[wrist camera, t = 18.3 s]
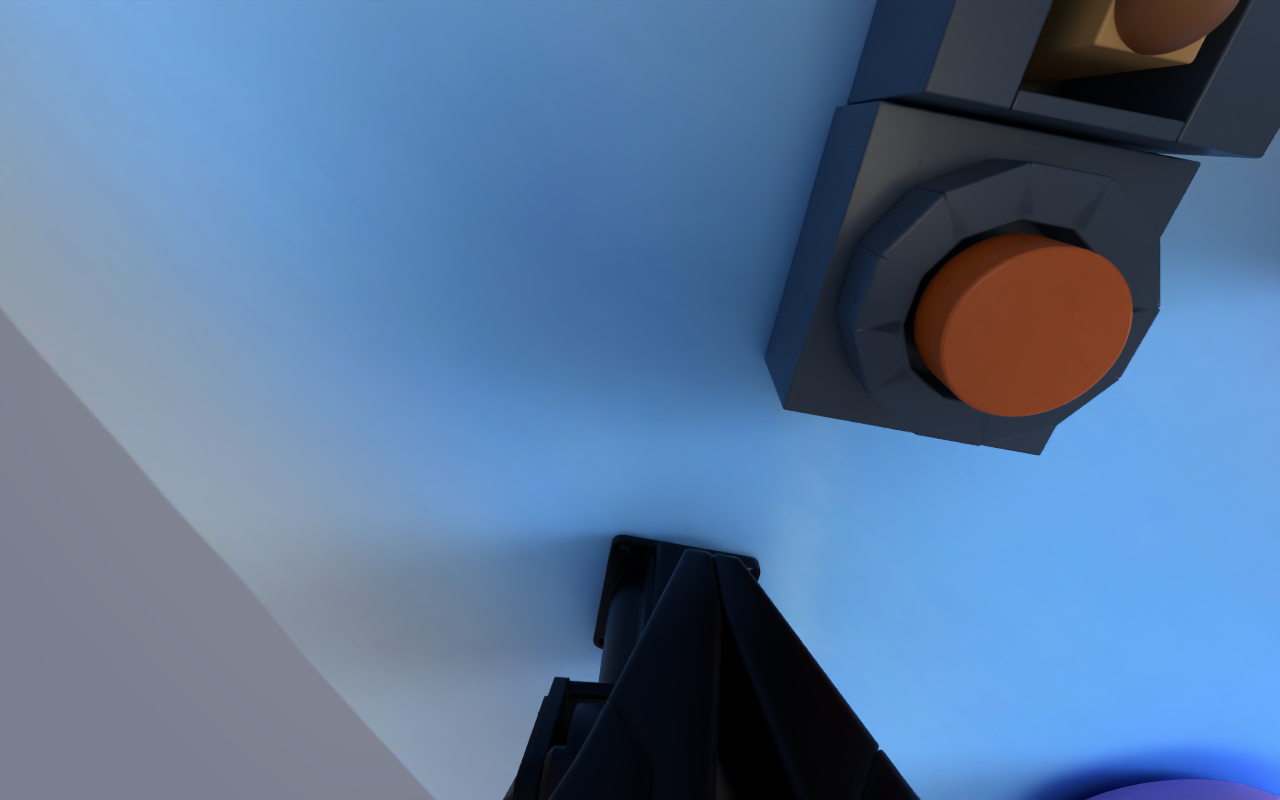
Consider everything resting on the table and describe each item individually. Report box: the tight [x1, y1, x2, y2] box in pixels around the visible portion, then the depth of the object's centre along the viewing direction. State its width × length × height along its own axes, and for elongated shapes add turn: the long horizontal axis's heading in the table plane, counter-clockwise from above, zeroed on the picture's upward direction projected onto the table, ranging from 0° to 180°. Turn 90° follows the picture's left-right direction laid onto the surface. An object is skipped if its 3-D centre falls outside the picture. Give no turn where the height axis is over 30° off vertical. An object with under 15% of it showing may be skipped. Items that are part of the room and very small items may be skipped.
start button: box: [914, 233, 1133, 417], centre depth 14 cm, size 4×4×2 cm
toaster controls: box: [765, 101, 1201, 455], centre depth 17 cm, size 8×8×6 cm
